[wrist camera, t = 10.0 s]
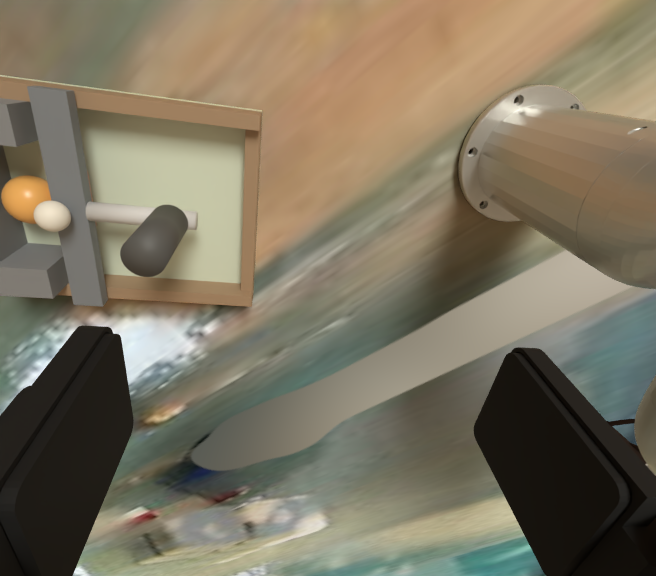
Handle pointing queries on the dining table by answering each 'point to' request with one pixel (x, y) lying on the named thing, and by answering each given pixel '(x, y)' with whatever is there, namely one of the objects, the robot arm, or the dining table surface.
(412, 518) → the dining table surface
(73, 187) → the kicker rod
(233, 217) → the foosball lane
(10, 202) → the ball
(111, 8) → the dining table surface
